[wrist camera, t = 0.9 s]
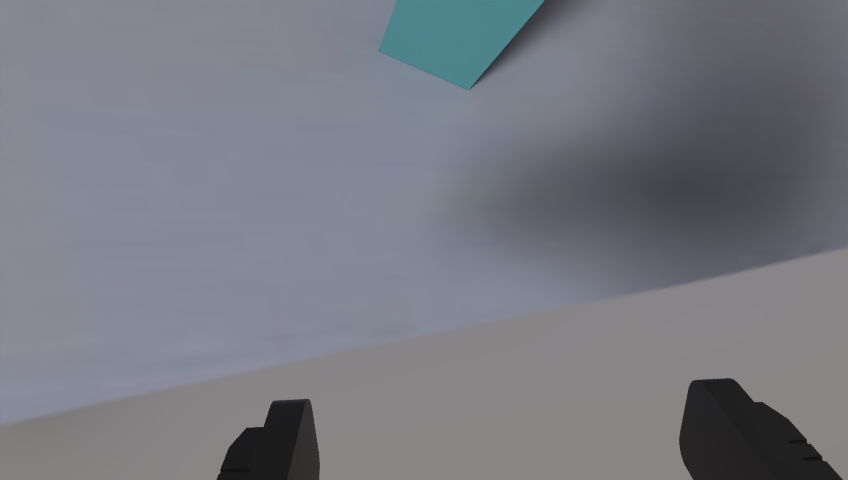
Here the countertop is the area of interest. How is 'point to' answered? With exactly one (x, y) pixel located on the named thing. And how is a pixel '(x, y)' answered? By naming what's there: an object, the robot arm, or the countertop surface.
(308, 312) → the countertop surface
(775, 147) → the countertop surface
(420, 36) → the teal pillar
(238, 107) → the countertop surface
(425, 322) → the countertop surface
